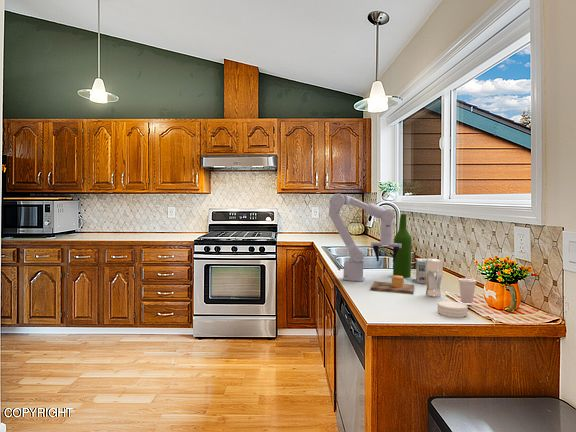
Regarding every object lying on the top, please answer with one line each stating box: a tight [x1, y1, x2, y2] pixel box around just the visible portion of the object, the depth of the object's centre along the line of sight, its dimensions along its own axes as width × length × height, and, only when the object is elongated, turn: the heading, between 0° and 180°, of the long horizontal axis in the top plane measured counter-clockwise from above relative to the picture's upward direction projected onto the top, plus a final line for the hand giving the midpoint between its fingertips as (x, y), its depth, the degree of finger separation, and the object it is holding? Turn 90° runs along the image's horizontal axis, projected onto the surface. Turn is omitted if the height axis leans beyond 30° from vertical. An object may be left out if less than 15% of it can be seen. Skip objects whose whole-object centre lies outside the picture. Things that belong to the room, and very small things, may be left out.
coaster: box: [436, 300, 469, 318], centre depth 142 cm, size 10×10×4 cm
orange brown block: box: [391, 275, 404, 288], centre depth 179 cm, size 5×5×4 cm
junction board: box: [369, 281, 415, 295], centre depth 179 cm, size 18×14×4 cm
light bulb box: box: [415, 257, 427, 284], centre depth 197 cm, size 11×7×11 cm, turn 168°
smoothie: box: [458, 268, 477, 304], centre depth 154 cm, size 6×6×14 cm
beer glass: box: [425, 258, 444, 298], centre depth 168 cm, size 7×7×15 cm
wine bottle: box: [392, 213, 413, 279], centre depth 208 cm, size 9×9×32 cm
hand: (385, 261), depth 197 cm, fingers open, 7 cm apart
